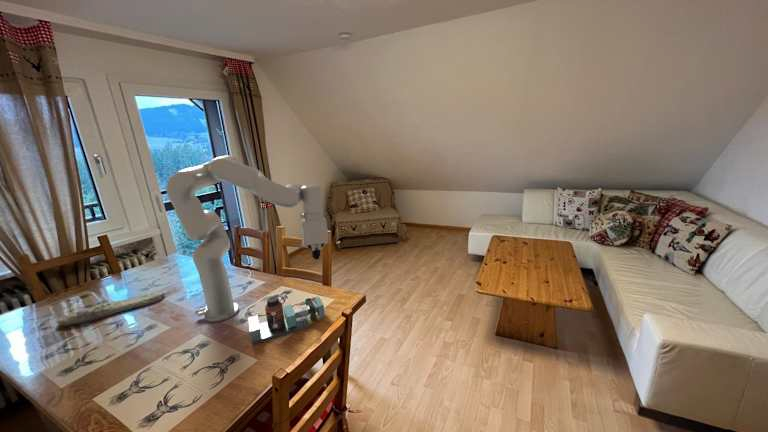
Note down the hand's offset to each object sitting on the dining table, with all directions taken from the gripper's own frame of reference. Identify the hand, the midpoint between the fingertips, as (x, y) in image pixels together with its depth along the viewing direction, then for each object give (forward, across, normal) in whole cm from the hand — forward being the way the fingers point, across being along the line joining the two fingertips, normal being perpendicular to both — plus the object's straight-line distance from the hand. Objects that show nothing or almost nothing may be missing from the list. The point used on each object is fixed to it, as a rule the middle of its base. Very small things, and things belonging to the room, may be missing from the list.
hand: (316, 258), depth 123 cm
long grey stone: (+25, -80, +38) cm, 92 cm away
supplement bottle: (+20, -19, -11) cm, 29 cm away
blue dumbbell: (+19, -8, -11) cm, 24 cm away
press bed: (+21, -16, -11) cm, 29 cm away
